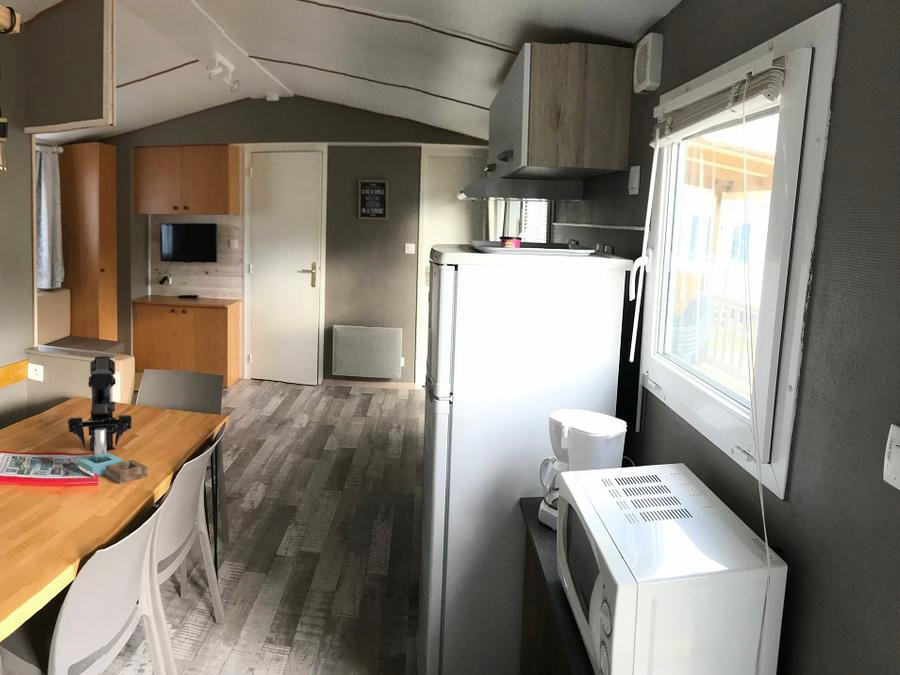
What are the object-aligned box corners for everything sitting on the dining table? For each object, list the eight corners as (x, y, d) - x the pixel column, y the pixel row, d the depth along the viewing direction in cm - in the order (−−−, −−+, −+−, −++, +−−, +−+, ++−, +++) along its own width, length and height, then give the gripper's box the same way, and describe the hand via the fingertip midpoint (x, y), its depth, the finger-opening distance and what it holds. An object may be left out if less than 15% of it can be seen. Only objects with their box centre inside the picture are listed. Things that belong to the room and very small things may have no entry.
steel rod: (105, 466, 222) (105, 427, 220) (107, 470, 219) (107, 430, 217) (93, 468, 220) (93, 428, 217) (95, 472, 217) (95, 431, 215)
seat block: (107, 462, 226) (107, 452, 226) (123, 469, 220) (123, 459, 220) (77, 469, 218) (77, 459, 218) (92, 477, 212) (92, 467, 212)
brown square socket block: (132, 469, 222) (132, 459, 221) (147, 476, 216) (147, 466, 216) (105, 476, 214) (105, 465, 214) (120, 483, 209) (120, 473, 209)
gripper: (68, 394, 215) (65, 437, 207) (131, 392, 223) (131, 433, 215) (70, 410, 223) (68, 452, 215) (131, 408, 231) (131, 448, 223)
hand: (100, 446), depth 217 cm, fingers open, 9 cm apart
